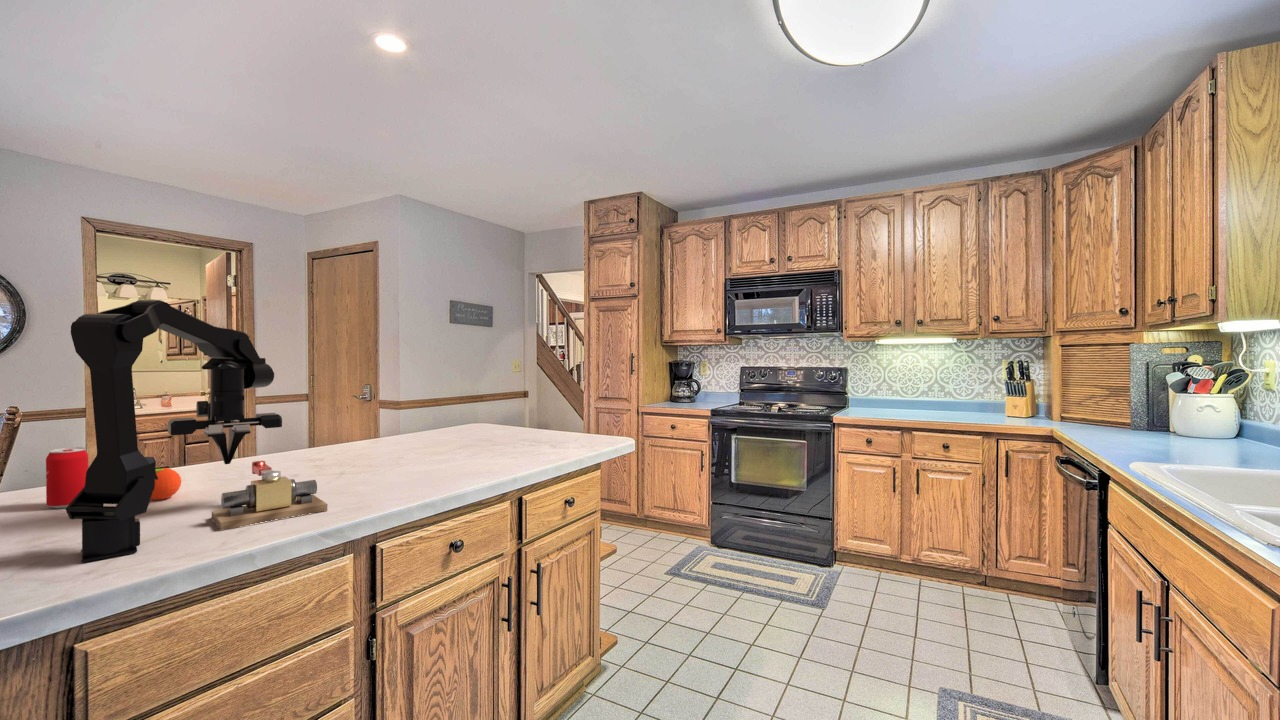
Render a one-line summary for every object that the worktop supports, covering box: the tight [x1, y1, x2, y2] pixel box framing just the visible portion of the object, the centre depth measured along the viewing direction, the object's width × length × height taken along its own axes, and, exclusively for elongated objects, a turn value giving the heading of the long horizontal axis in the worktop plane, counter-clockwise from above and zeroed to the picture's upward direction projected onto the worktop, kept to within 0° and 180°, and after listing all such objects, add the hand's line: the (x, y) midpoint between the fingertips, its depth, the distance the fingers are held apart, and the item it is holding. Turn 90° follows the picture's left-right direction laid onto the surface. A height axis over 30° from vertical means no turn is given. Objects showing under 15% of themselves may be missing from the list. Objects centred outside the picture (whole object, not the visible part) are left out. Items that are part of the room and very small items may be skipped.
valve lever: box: [251, 460, 282, 481], centre depth 115 cm, size 14×3×2 cm, turn 46°
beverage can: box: [45, 446, 89, 509], centre depth 115 cm, size 6×6×12 cm
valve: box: [220, 476, 318, 517], centre depth 111 cm, size 16×5×6 cm, turn 136°
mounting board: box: [211, 494, 328, 531], centre depth 111 cm, size 18×10×2 cm, turn 136°
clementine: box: [150, 467, 182, 501], centre depth 120 cm, size 8×7×7 cm
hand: (227, 463), depth 114 cm, fingers closed
